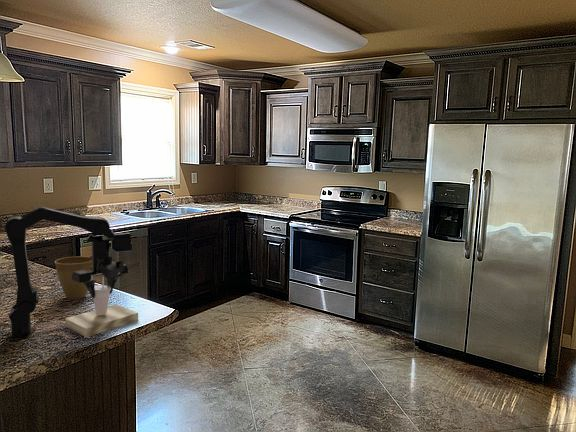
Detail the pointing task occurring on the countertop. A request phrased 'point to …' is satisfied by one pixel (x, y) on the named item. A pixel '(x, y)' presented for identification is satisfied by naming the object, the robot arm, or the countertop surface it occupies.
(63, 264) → the plant pot
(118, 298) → the countertop surface
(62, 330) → the countertop surface
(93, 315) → the plinth
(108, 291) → the smoothie
